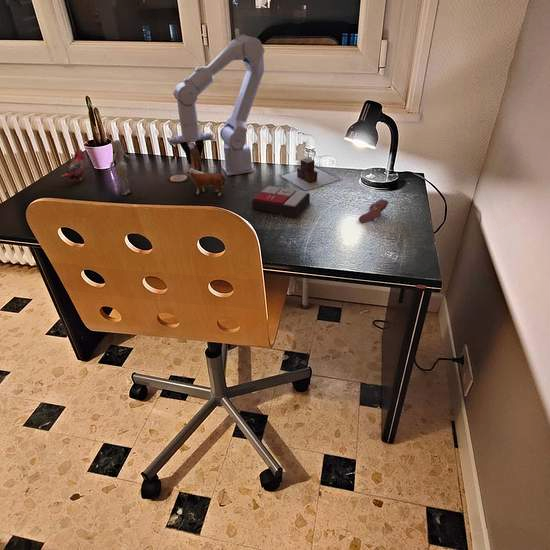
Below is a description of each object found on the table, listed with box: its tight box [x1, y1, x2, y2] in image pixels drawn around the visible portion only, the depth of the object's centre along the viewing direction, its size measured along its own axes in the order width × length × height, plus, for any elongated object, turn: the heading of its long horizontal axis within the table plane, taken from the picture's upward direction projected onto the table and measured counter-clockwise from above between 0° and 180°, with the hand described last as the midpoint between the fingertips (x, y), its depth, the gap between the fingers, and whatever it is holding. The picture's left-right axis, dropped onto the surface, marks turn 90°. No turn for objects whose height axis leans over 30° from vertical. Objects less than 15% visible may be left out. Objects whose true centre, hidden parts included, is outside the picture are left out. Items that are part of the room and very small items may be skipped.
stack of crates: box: [280, 157, 340, 191], centre depth 147 cm, size 15×15×7 cm
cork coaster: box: [169, 174, 188, 183], centre depth 150 cm, size 6×6×1 cm
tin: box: [188, 142, 203, 172], centre depth 146 cm, size 15×3×8 cm, turn 19°
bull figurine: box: [186, 167, 226, 197], centre depth 138 cm, size 4×13×8 cm, turn 73°
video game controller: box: [358, 198, 389, 224], centre depth 123 cm, size 10×5×7 cm, turn 148°
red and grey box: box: [251, 185, 311, 219], centre depth 131 cm, size 11×4×15 cm
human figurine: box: [107, 139, 136, 196], centre depth 135 cm, size 12×4×18 cm, turn 155°
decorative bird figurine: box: [59, 148, 86, 184], centre depth 145 cm, size 3×18×10 cm, turn 174°
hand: (194, 162), depth 147 cm, fingers closed on tin, 2 cm apart
